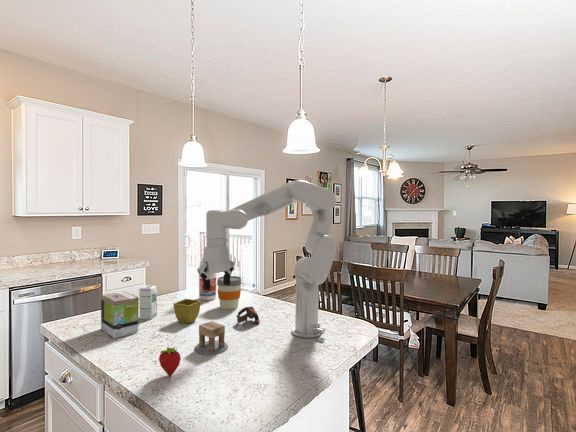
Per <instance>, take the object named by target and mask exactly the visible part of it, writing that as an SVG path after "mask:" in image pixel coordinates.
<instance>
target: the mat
mask: <svg viewBox="0 0 576 432" xmlns="http://www.w3.org/2000/svg"><path fill="white" fill-rule="evenodd" d="M228 346H229V345H228V343H227V342H225V341H224V347H223V348H219V339H218V340H216V339H215V351H213V352H210V351H209V340H205V347H202V348H201V347H199V343H197V344H196V345H195V346H194V351H195V353H197V354H199V355H202V356H214V355H219V354H221V353H224V352H225V351H227V350H228V348H229V347H228Z"/></svg>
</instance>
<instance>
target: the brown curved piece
mask: <svg viewBox="0 0 576 432" xmlns="http://www.w3.org/2000/svg"><path fill="white" fill-rule="evenodd" d="M243 313H245V314H243ZM242 314H243V315H242ZM236 318H237V319H236V321H237V323H238V324H240V323H243V322H246V323H247V322H249V321H248V319H250V320H251V319H252V320H253V319H254V322H257V325H258V326H259V325H260V323H261V322H260V317H259V315H258V313H257V311H256V310H255V308H254V307H253V306H246V307H244V308H242V309H240V310H239V311H238V312H237V315H236Z"/></svg>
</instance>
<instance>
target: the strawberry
mask: <svg viewBox="0 0 576 432" xmlns="http://www.w3.org/2000/svg"><path fill="white" fill-rule="evenodd" d="M166 345H167V346H168V347H166V349H164V350H160V352H159V357H158V361H159V365H160V367H161V368H162V369H163V371H164V372H165V374H167V375H168V376H169V377H171V376H172V375H174V373H175V371H177V369H178V367H179V366H180V362H181V360H182V359H181V358H182V357H181V354H180V353H179V351H178V349H177V346H174V347H171V346H170V345H169V344H166Z"/></svg>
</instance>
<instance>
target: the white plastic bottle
mask: <svg viewBox="0 0 576 432" xmlns="http://www.w3.org/2000/svg"><path fill="white" fill-rule="evenodd" d="M201 265H203V257H202V259H201V260H200V262H199V267H200V266H201ZM203 273H204V272H203ZM209 280H210V290H209V291H208V290H204V287H203V279H202V278H201V277H200V276H199V275H198V282H199V283H198V300H199V301H204V302H205V301H213V300H215V299H216V298H217V273H215V274H211V276H210V278H209Z"/></svg>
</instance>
